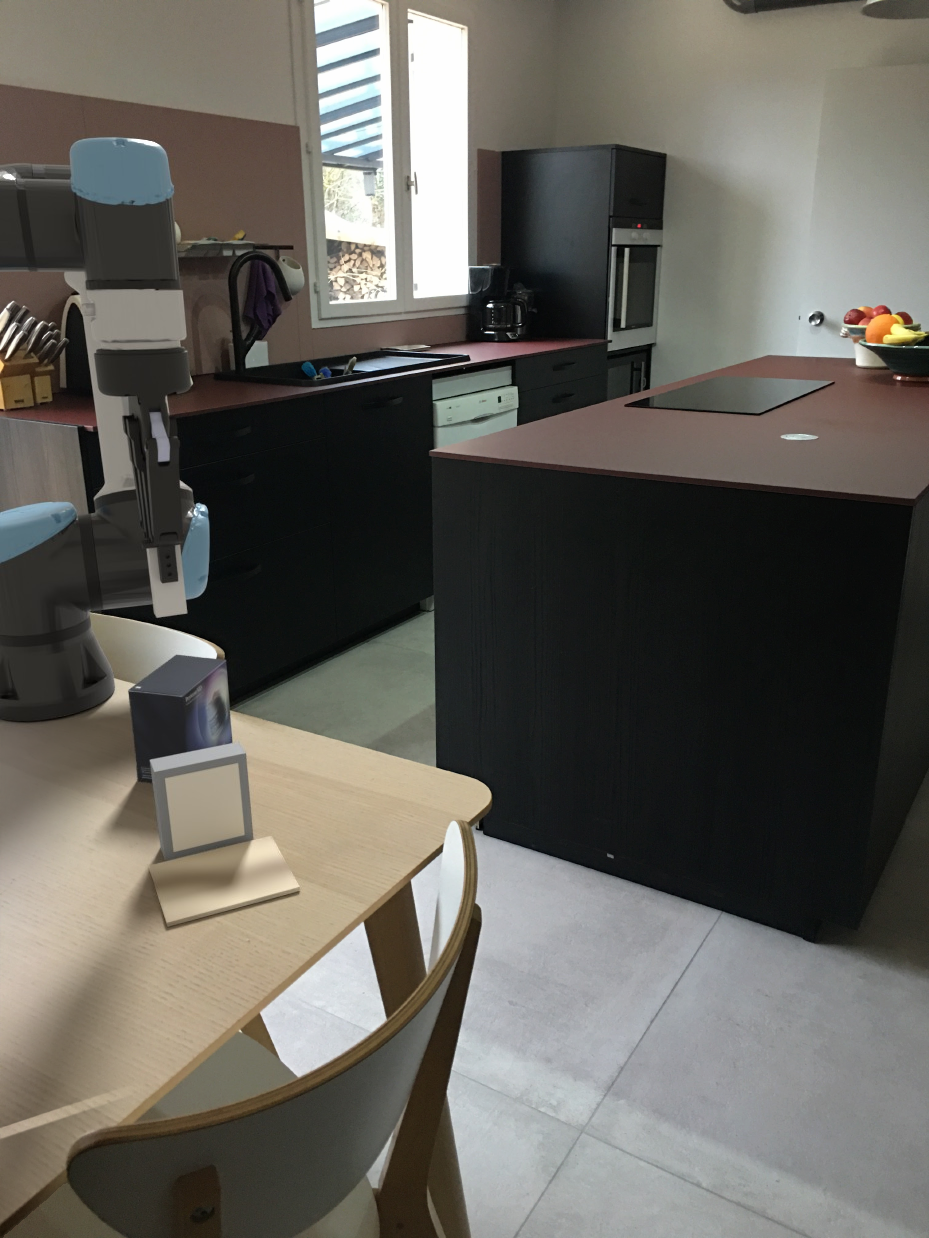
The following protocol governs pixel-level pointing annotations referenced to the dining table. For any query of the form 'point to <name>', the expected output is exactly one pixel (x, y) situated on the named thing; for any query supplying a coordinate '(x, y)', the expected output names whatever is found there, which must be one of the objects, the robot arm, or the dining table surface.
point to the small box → (179, 710)
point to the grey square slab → (202, 800)
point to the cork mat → (221, 880)
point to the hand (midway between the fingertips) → (170, 612)
